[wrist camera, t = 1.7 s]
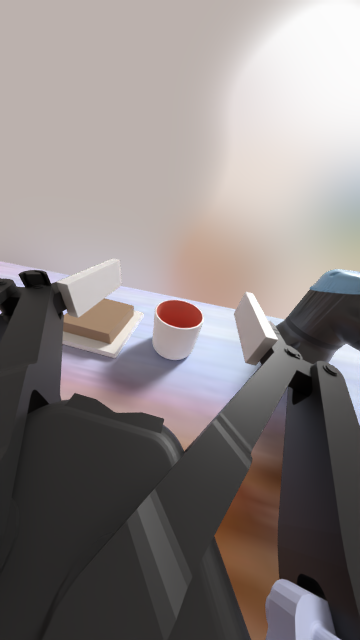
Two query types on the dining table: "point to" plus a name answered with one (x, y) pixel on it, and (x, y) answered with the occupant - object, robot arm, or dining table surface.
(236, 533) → the dining table surface
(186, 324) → the cup
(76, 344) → the plinth
